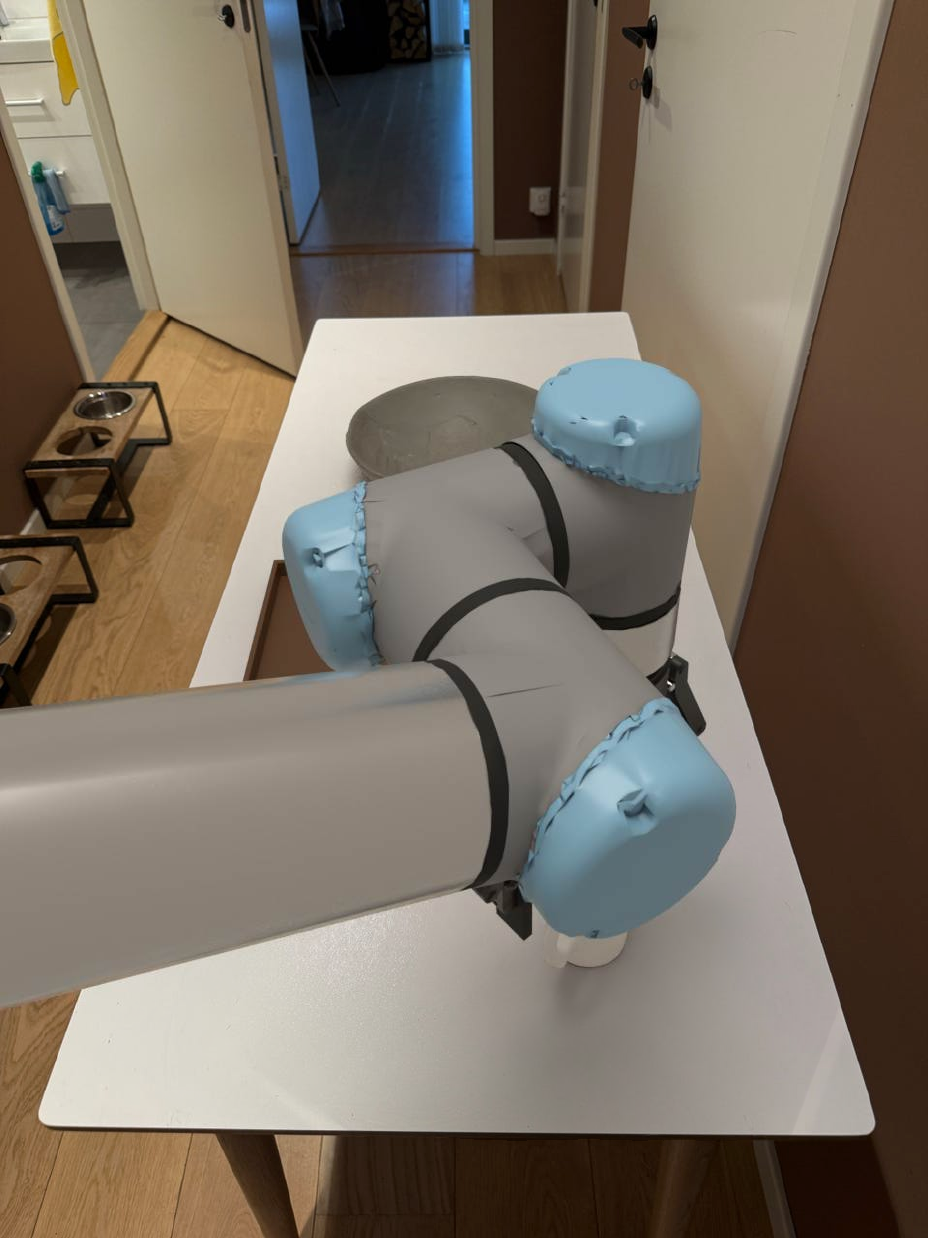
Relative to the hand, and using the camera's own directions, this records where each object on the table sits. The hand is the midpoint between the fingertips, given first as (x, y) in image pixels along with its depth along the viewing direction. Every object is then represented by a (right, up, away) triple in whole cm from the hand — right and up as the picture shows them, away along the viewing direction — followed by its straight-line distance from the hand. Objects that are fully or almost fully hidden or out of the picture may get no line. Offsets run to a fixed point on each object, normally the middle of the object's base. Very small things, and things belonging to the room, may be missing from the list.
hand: (585, 865), depth 65 cm
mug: (0, -8, +7) cm, 11 cm away
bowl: (-9, +35, +58) cm, 68 cm away
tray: (-21, +13, +32) cm, 41 cm away
